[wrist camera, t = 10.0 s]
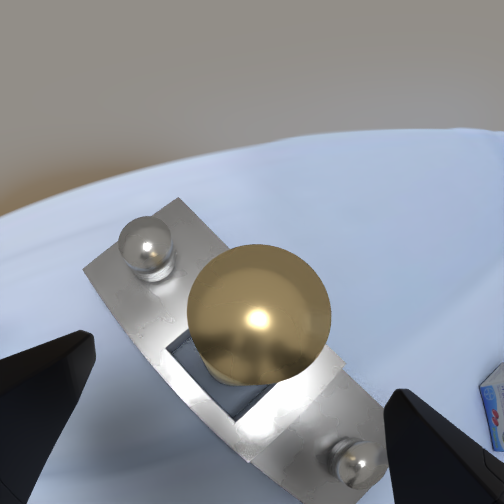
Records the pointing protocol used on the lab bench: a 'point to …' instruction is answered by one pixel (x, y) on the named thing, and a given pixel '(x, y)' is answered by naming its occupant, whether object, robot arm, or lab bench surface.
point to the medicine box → (495, 406)
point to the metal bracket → (269, 400)
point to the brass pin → (258, 315)
